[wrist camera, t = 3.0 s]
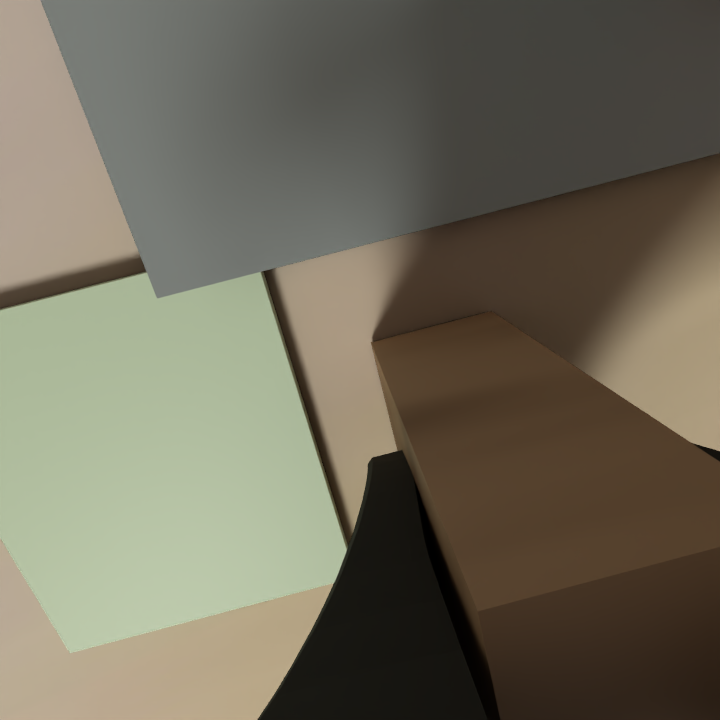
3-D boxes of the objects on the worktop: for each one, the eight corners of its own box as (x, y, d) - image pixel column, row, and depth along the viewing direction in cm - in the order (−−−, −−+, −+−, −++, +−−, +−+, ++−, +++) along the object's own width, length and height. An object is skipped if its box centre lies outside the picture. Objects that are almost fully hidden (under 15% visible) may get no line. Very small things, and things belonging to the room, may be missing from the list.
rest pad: (353, 565, 12) (355, 577, 12) (77, 638, 12) (70, 652, 12) (254, 243, 9) (252, 245, 9) (-102, 335, 9) (-119, 341, 9)
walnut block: (521, 505, 12) (779, 891, 5) (417, 533, 12) (549, 953, 5) (490, 311, 10) (811, 522, 4) (371, 342, 10) (477, 611, 4)
